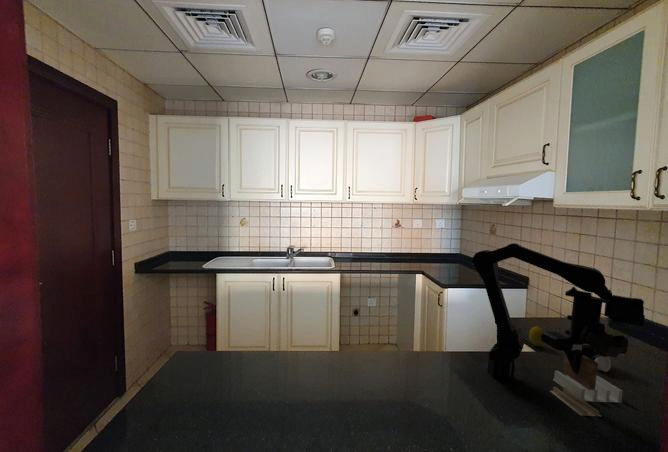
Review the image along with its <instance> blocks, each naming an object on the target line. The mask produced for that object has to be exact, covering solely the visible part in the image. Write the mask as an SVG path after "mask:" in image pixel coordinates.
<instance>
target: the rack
mask: <svg viewBox="0 0 668 452" xmlns="http://www.w3.org/2000/svg"><path fill="white" fill-rule="evenodd" d="M552 381H554V382H555V383H557V384H558V385H559V386H560V387H562V388H563V387H566V388H567V389H569V390H570V391H572V392H573V393H574V394H576V395H577V396H578V397H580V398H581V399H583V400H584V401H585V402H599V403H601V402H602V403H603V402H604V403H624V402H623V392H624V391H623V390H622V389H620V388H619V387H618V386H616V385H613V384H612V383H611V382H608V381H607V380H605V379H604V378H602V377H600V376H599V375H597V377H596V385H595V390H588V389H587V388H585V387H584V386H583V385H581V384H580V383H578V382H577V381H575V380H574V379H572V378H571V377H569V376H568V375H566V374H565V373H563V372H561V371H559V370H554V376H553V379H552Z"/></svg>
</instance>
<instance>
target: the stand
mask: <svg viewBox="0 0 668 452" xmlns="http://www.w3.org/2000/svg"><path fill="white" fill-rule="evenodd" d="M549 392H550V393H551V394H553V395H554V396H555V397H556V398H558V399H559V400H560V401H561V402H563V403H564V404H566V405H567V407H569V408H570V409H571V410H573V411H574V412H576V413H577V414H578V415H579V416H582V417H583V416H585V417H602V415H601V414H600V411H599V410H597V409H596V408H595V407H593V405H591V404H590V403H588V401H584V400H583V399H581V398H580V397H578V396H577V395H576V394H574V393H573V392H572V391H570V390H569V389H567V388H566V387H562V390H560V389H559V388H558V387H556V386H552V390H549Z"/></svg>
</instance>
